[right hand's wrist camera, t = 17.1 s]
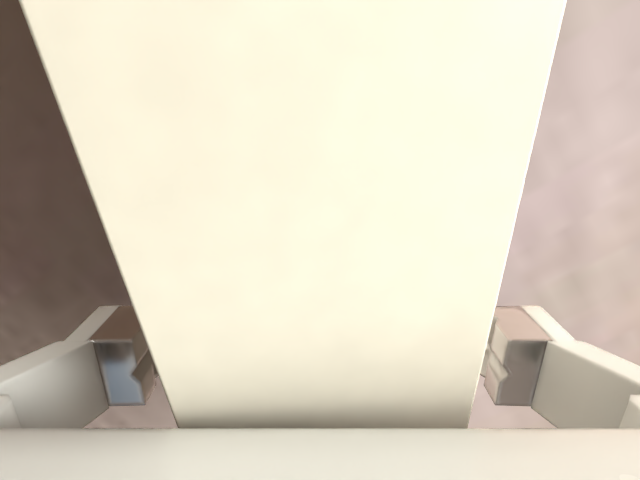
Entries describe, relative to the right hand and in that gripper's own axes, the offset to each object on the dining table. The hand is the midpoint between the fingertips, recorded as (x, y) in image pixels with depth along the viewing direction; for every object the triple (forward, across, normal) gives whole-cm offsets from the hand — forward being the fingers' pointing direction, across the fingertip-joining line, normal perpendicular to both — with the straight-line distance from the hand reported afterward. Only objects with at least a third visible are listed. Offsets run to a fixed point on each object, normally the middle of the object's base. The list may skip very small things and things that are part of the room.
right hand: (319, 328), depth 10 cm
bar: (+4, +1, -10) cm, 11 cm away
